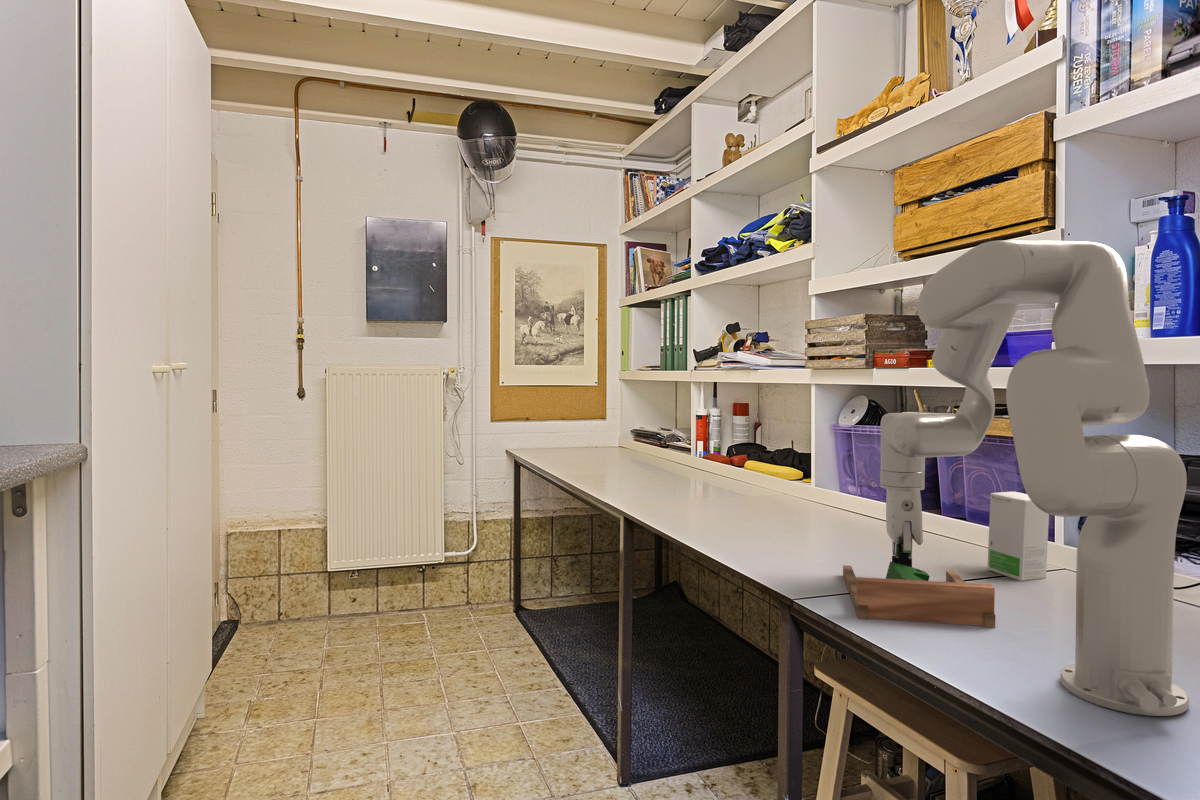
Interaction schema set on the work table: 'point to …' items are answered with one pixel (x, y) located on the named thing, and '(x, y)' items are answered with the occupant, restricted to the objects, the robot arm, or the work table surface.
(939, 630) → the work table surface
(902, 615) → the brown wooden tray
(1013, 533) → the skincare box
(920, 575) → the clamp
